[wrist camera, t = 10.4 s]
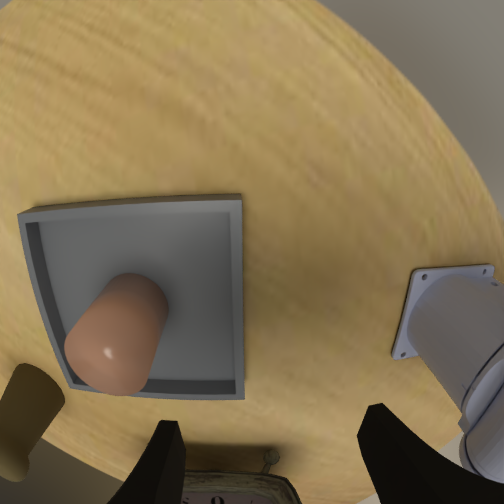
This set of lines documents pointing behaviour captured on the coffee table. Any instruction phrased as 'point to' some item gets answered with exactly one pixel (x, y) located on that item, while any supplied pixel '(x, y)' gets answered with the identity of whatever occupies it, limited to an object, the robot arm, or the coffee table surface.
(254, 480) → the tabletop clock
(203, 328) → the tray
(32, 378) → the brown pawn figure
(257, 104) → the coffee table surface
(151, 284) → the brown clay cylinder
